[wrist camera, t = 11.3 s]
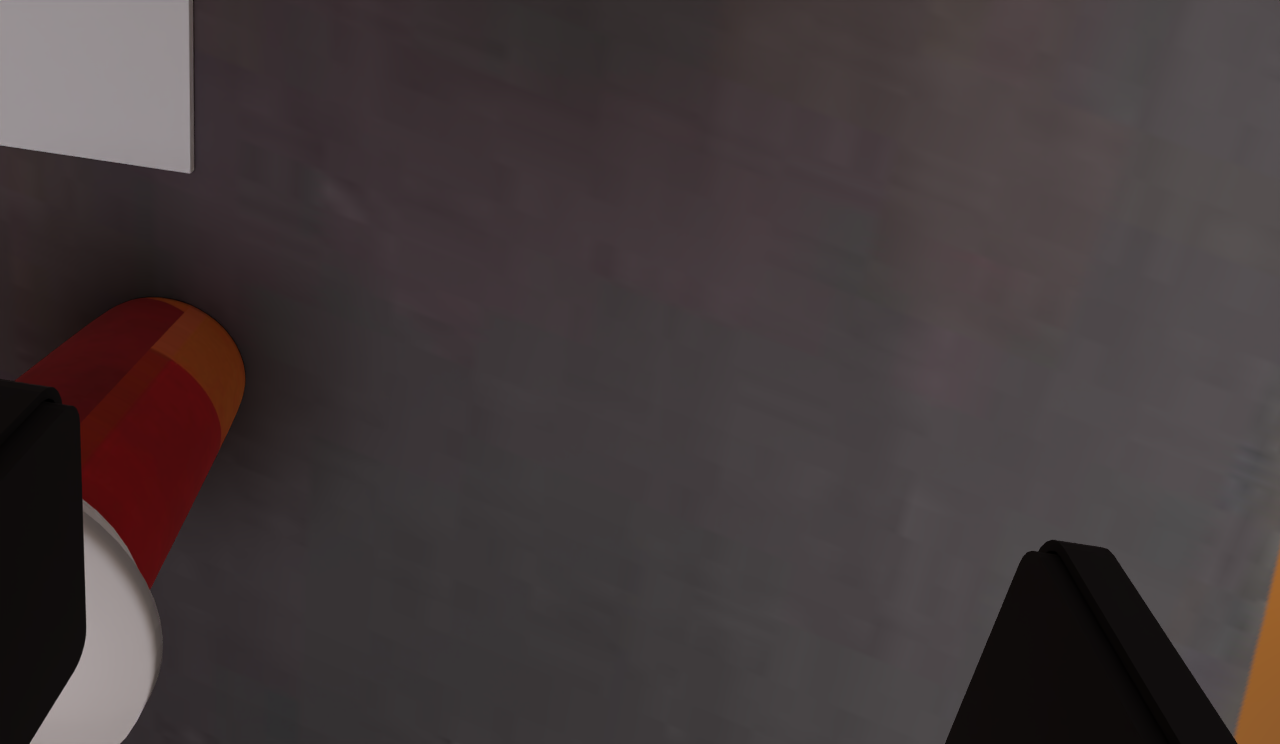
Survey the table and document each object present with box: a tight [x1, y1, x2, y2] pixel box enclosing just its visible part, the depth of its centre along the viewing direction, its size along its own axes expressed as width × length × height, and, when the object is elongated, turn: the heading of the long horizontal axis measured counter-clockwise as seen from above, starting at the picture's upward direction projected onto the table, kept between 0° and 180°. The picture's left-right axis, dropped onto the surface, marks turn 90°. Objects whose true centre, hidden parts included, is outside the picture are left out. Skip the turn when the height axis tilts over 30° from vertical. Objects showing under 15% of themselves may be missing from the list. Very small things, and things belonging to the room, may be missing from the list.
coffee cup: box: [15, 297, 245, 589], centre depth 37 cm, size 8×8×15 cm
